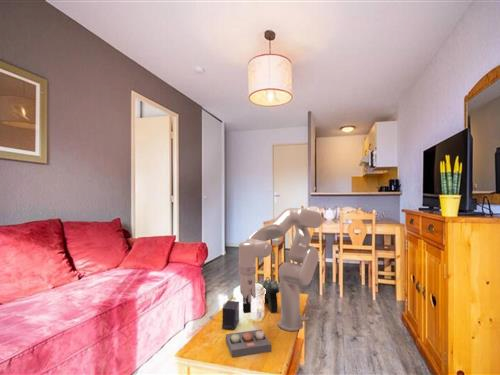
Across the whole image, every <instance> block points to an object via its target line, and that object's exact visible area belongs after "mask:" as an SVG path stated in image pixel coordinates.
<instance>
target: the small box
mask: <svg viewBox="0 0 500 375" xmlns="http://www.w3.org/2000/svg"><path fill="white" fill-rule="evenodd" d="M221 321H222V325H221V327H222V328H221V329H222V330H228V331H229V330H230V331H233V330H235V329H236V328H237V325H238V324H239V322H240V301H234V300H233V301H232V300H227V302H226V303H225V305H223V307H222V320H221Z"/></svg>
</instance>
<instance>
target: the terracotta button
mask: <svg viewBox="0 0 500 375" xmlns="http://www.w3.org/2000/svg"><path fill="white" fill-rule="evenodd" d="M249 341H252V334H251V333H248V332H247V333H244V342H249Z"/></svg>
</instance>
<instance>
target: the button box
mask: <svg viewBox="0 0 500 375" xmlns="http://www.w3.org/2000/svg"><path fill="white" fill-rule="evenodd" d="M257 331H263V330H262V329H253V330H248V331H240V332H232V333H225V342H226V344H227V349H228V351H229V354H230V357H231V358H237V357H244V356H250V355H251V356H253V355H258V354H263V353H270V352H272V344H271V342H270V341H269V339H268V337H267V336H266V335H265V333H264V339H263V340H256V332H257ZM247 332H248V333H251V334H252V341H249V342H244V333H247ZM233 334H238V335H239V336H240V342H239V343H235V344H232V343H231V336H232V335H233Z"/></svg>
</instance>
